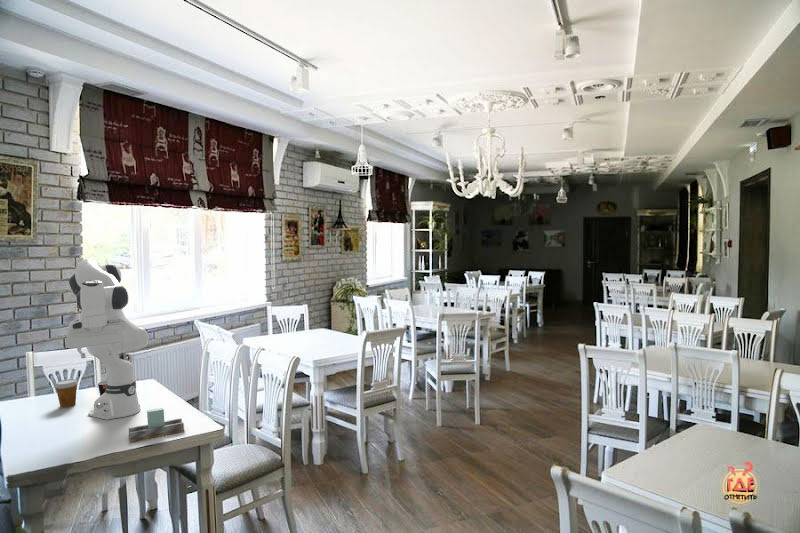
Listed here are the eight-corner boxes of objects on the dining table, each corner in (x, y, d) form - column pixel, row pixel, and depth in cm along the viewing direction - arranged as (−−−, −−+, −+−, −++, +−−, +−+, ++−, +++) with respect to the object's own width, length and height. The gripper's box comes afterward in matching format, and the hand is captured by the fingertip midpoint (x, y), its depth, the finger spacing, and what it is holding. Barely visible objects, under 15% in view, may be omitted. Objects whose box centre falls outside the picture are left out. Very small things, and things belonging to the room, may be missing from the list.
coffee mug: (105, 399, 266) (104, 379, 265) (122, 398, 266) (121, 379, 265) (91, 407, 255) (90, 386, 254) (109, 406, 254) (107, 386, 254)
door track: (130, 443, 209) (129, 434, 208) (128, 435, 216) (128, 427, 216) (184, 432, 219) (184, 423, 218) (181, 425, 226) (180, 417, 226)
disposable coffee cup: (83, 404, 259) (81, 380, 258) (62, 410, 251) (60, 385, 250) (73, 401, 264) (71, 377, 263) (52, 407, 256) (50, 382, 255)
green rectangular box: (148, 433, 215) (147, 412, 214) (148, 432, 217) (147, 410, 216) (164, 430, 218) (163, 409, 217) (164, 428, 220) (162, 407, 219)
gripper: (123, 317, 217) (126, 351, 218) (65, 323, 207) (67, 358, 208) (124, 319, 212) (127, 354, 213) (64, 325, 201) (67, 361, 202)
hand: (97, 356), depth 210 cm, fingers open, 8 cm apart
